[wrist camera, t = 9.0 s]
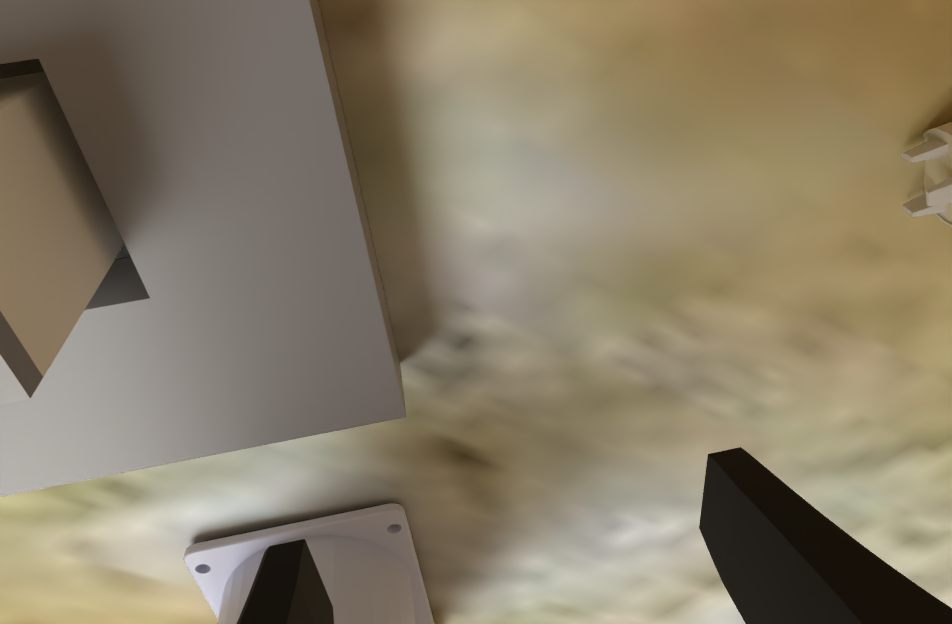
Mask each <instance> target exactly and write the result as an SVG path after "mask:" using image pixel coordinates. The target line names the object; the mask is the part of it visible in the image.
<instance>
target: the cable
mask: <svg viewBox="0 0 952 624" xmlns="http://www.w3.org/2000/svg"><path fill="white" fill-rule="evenodd" d="M923 137H925V143H923V144H921V145H919V146H917V147H915V148H913V149H911V150H908V151H906V152H904V153H903V154H902V157H901V158H903V159H905V160H907V161H909V162H911V163H915V162H919V161H924V189H923V190H922V195H920V196H918V197H916V198H915V199H913V200H911V201H909V202H907V203H905V204H903V210H904V211H905V212H906V213H907V214H909V215H910V216H911V217H918V216H924V215H929V214H935V215H936V216H937V218H938V219H940V220H941V221H942V222H943V223H944V224H946V225H948V226H950V227H952V122H949V123H946V124H944V125H941V126H938V127H935V128H932V129H929V130H927V131H926V132H924V133H923Z"/></svg>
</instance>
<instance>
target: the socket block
mask: <svg viewBox="0 0 952 624" xmlns="http://www.w3.org/2000/svg"><path fill="white" fill-rule="evenodd" d="M31 59H39V61H40V63H41V65H42V67H43V69H44V71H45V74H46V76H47V78H48V80H49V82H50V84H51V86H52V89H53V91H54V93H55V95H56V97H57V99H58V102H59V104H60V106H61V108H62V110H63V112H64V114H65V117H66V119H67V121H68V123H69V125H70V127H71V129H72V132H73V134H74V136H75V138H76V140H77V142H78V144H79V147H80V149H81V151H82V153H83V155H84V157H85V159H86V162H87V164H88V166H89V168H90V170H91V172H92V175H93V177H94V179H95V181H96V183H97V185H98V187H99V190H100V192H101V194H102V196H103V198H104V200H105V202H106V205H107V207H108V209H109V211H110V213H111V215H112V217H113V220H114V222H115V224H116V226H117V228H118V230H119V233H120V235H121V237H122V239H123V241H124V243H125V245H126V248H127V250H128V252H129V254H130V256H131V257H127V258H121V259H116V260H115V261H114V262H113V264H112V265H111V267H110V269H109V270H108V272H107V274H106V275H105V277H104V279H103V280H102V282H101V284H100V285H99V287H98V288H97V290H96V292H95V293H94V295H93V297H92V298H91V300H90V302H89V303H88V305H87V306H86V308H85V310H84V311H83V313H82V315H81V316H80V318H79V320H78V321H77V323H76V325H75V326H74V328H73V329H72V331H71V333H70V334H69V336H68V338H67V339H66V341H65V343H64V344H63V346H62V348H61V349H60V351H59V352H58V354H57V356H56V357H55V359H54V361H53V362H52V364H51V366H50V367H49V369H48V370H47V372H46V374H45V375H44V377H43V379H42V380H41V382H40V384H39V385H38V387H37V389H36V390H35V392H34V393H33V395H32V397H31V398H30V399H26V400H21V401H16V402H11V403H6V404H1V405H0V497H2V496H7V495H12V494H18V493H23V492H28V491H33V490H38V489H43V488H48V487H53V486H58V485H63V484H68V483H73V482H78V481H84V480H89V479H94V478H99V477H104V476H109V475H114V474H119V473H124V472H129V471H134V470H139V469H145V468H150V467H155V466H160V465H165V464H170V463H175V462H180V461H185V460H190V459H195V458H200V457H205V456H211V455H216V454H221V453H226V452H231V451H236V450H241V449H246V448H251V447H256V446H261V445H266V444H272V443H277V442H282V441H287V440H292V439H297V438H302V437H307V436H312V435H317V434H322V433H327V432H332V431H338V430H343V429H348V428H353V427H358V426H363V425H368V424H373V423H378V422H383V421H388V420H393V419H399V418H404V417H406V412H405V403H404V394H403V385H402V376H401V367H400V361H399V357H398V352H397V348H396V344H395V339H394V335H393V330H392V326H391V321H390V317H389V313H388V308H387V304H386V299H385V295H384V290H383V286H382V282H381V277H380V273H379V268H378V264H377V259H376V255H375V251H374V246H373V242H372V237H371V233H370V228H369V224H368V220H367V215H366V211H365V206H364V202H363V197H362V193H361V189H360V184H359V180H358V175H357V171H356V166H355V162H354V157H353V153H352V149H351V144H350V140H349V135H348V131H347V126H346V122H345V118H344V113H343V109H342V104H341V100H340V95H339V91H338V87H337V82H336V78H335V73H334V69H333V64H332V60H331V56H330V51H329V47H328V42H327V38H326V33H325V29H324V25H323V20H322V16H321V11H320V7H319V2H318V0H0V64H5V63H11V62H18V61H25V60H31Z"/></svg>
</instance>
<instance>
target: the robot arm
mask: <svg viewBox="0 0 952 624" xmlns="http://www.w3.org/2000/svg"><path fill="white" fill-rule="evenodd" d="M392 524H396V525H392ZM699 528H700V531H701V533H702V536H703V538H704V540H705V543H706V545H707V548H708V550H709V552H710V555H711V557H712V559H713V562H714V564H715V566H716V568H717V571H718V573H719V575H720V577H721V580H722V582H723V584H724V586H725V587H726V589H727V591H728V593H729V595H730V597H731V598H732V600H733V602H734V604H735V605H736V607H737V609H738V611H739V612H740V614H741V616H742V618H743V620H744V621H745V623H746V624H952V608H951V607H949V606H947V605H946V604H944V603H943V602H941V601H940V600H938V599H937V598H935V597H934V596H932V595H931V594H930V593H928V592H927V591H925V590H924V589H922V588H921V587H919V586H918V585H916V584H915V583H914V582H912V581H911V580H909V579H908V578H906V577H905V576H904V575H902V574H901V573H899V572H898V571H897V570H895V569H894V568H892V567H891V566H890V565H888V564H887V563H885V562H884V561H883V560H881V559H880V558H879V557H877V556H876V555H875V554H873V553H872V552H871V551H869V550H868V549H866V548H865V547H864V546H862V545H861V544H860V543H859V542H857V541H856V540H855V539H853V538H852V537H851V536H850V535H848V534H847V533H846V532H844V531H843V530H842V529H840V528H839V527H838V526H837V525H835V524H834V523H833V522H831V521H830V520H829V519H828V518H826V517H825V516H824V515H823V514H821V513H820V512H819V511H818V510H816V509H815V508H814V507H813V506H811V505H810V504H809V503H808V502H806V501H805V500H804V499H803V498H802V497H800V496H799V495H798V494H797V493H795V492H794V491H793V490H792V489H791V488H789V487H788V486H787V485H786V484H785V483H783V482H782V481H781V480H780V479H779V478H777V477H776V476H775V475H774V474H773V473H771V472H770V471H769V470H768V469H767V468H765V467H764V466H763V465H762V464H761V463H760V462H758V461H757V460H756V459H755V458H754V457H752V456H751V455H750V454H749V453H748V452H746V451H745V450H744V449H742V448H741V447H740V448H735V449H730V450H726V451H721V452H716V453H711V454H708V459H707V467H706V476H705V484H704V492H703V501H702V509H701V517H700V526H699ZM183 559H184V563H185V564H186V566H187V568H188V570H189V571H190V573H191V575H192V576H193V578H194V580H195V581H196V583H197V585H198V587H199V588H200V590H201V592H202V593H203V595H204V597H205V598H206V600H207V602H208V603H209V605H210V607H211V609H212V610H213V612H214V614H215V615H216V617H217V619H218V622H217V624H435V623H434V619H433V616H432V612H431V608H430V604H429V600H428V597H427V593H426V589H425V585H424V581H423V578H422V574H421V570H420V566H419V562H418V558H417V555H416V551H415V547H414V543H413V539H412V536H411V532H410V528H409V524H408V520H407V517H406V513H405V509H404V508H403V506H401V505H399V504H395V503H390V504H384V505H380V506H375V507H370V508H365V509H360V510H355V511H350V512H346V513H341V514H336V515H331V516H326V517H321V518H317V519H312V520H307V521H302V522H297V523H292V524H287V525H283V526H278V527H273V528H268V529H263V530H258V531H254V532H249V533H244V534H239V535H234V536H229V537H224V538H220V539H215V540H210V541H205V542H200V543H196V544H193V545H190V546H189V547H188V548H186V551H185V554H184V558H183Z"/></svg>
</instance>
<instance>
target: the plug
mask: <svg viewBox="0 0 952 624" xmlns="http://www.w3.org/2000/svg"><path fill="white" fill-rule="evenodd" d="M124 244H125V243H124V241H123V239H122V237H121V235H120V233H119V230H118V228H117V226H116V224H115V222H114V220H113V217H112V215H111V213H110V211H109V209H108V207H107V205H106V202H105V200H104V198H103V196H102V194H101V192H100V190H99V187H98V185H97V183H96V181H95V179H94V177H93V175H92V172H91V170H90V168H89V166H88V164H87V162H86V159H85V157H84V155H83V153H82V151H81V149H80V147H79V144H78V142H77V140H76V138H75V136H74V134H73V132H72V129H71V127H70V125H69V123H68V121H67V119H66V117H65V114H64V112H63V110H62V108H61V106H60V104H59V102H58V99H57V97H56V95H55V93H54V91H53V89H52V86H51V84H50V82H49V80H48V78H47V76H46V74H45V72H39V73H33V74H27V75H21V76H15V77H9V78H3V79H0V405H1V404H6V403H11V402H16V401H21V400H26V399H30V398H31V397H32V395H33V393H34V392H35V390H36V389H37V387H38V385H39V384H40V382H41V380H42V379H43V377H44V375H45V374H46V372H47V370H48V369H49V367H50V366H51V364H52V362H53V361H54V359H55V357H56V356H57V354H58V352H59V351H60V349H61V348H62V346H63V344H64V343H65V341H66V339H67V338H68V336H69V334H70V333H71V331H72V329H73V328H74V326H75V325H76V323H77V321H78V320H79V318H80V316H81V315H82V313H83V311H84V310H85V308H86V306H87V305H88V303H89V302H90V300H91V298H92V297H93V295H94V293H95V292H96V290H97V288H98V287H99V285H100V284H101V282H102V280H103V279H104V277H105V275H106V274H107V272H108V270H109V269H110V267H111V265H112V264H113V262H114V261H115V259H116V257H117V256H118V254H119V252H120V251H121V249H122V247H123V246H124Z"/></svg>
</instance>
